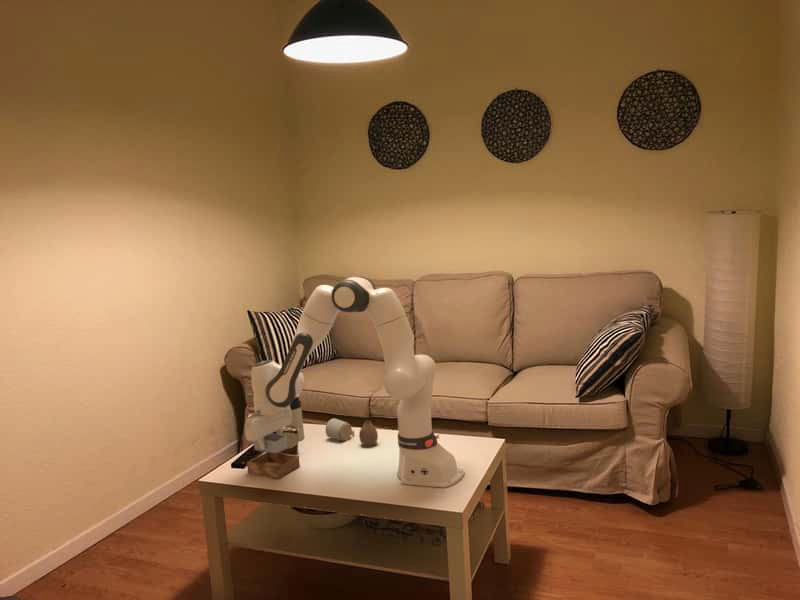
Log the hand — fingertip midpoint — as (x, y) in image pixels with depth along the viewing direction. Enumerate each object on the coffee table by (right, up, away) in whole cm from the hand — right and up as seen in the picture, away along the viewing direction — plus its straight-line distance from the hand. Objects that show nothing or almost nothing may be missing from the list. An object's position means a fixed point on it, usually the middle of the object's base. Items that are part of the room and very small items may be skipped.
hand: (271, 444), depth 241 cm
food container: (+3, -7, +18) cm, 19 cm away
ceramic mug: (+22, -4, +29) cm, 37 cm away
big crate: (+1, -9, +1) cm, 9 cm away
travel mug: (+3, -5, +31) cm, 32 cm away
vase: (+34, -4, +19) cm, 39 cm away
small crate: (0, -2, 0) cm, 2 cm away
